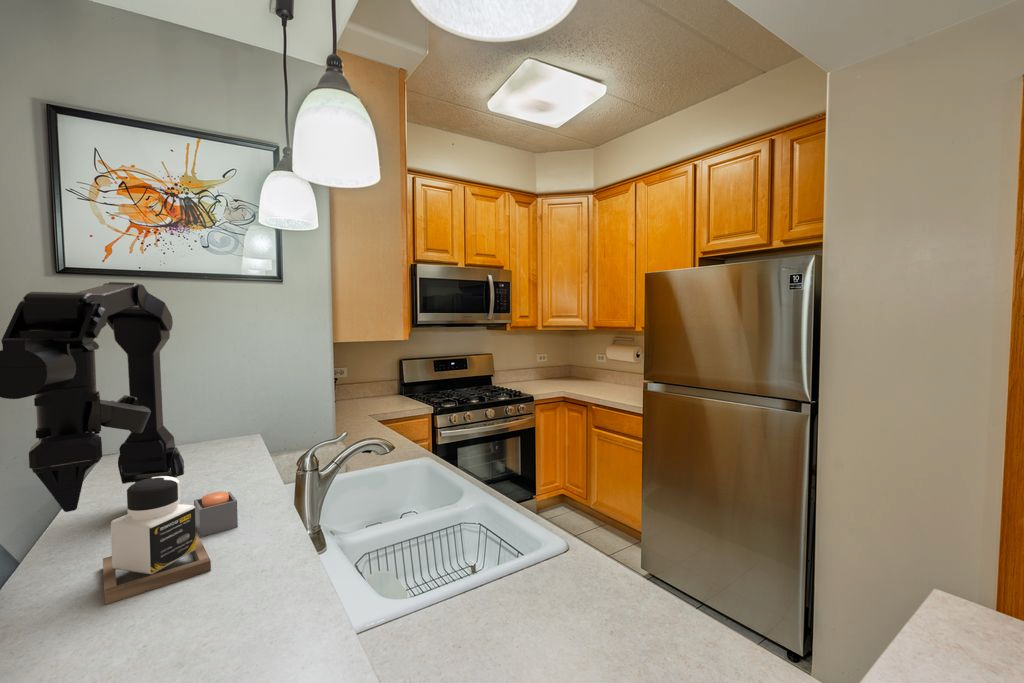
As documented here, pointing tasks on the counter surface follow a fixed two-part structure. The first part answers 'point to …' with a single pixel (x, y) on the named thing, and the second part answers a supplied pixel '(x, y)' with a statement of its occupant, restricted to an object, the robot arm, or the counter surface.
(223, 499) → the button
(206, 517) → the button housing
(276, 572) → the counter surface
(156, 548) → the medicine bottle
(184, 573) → the frame
